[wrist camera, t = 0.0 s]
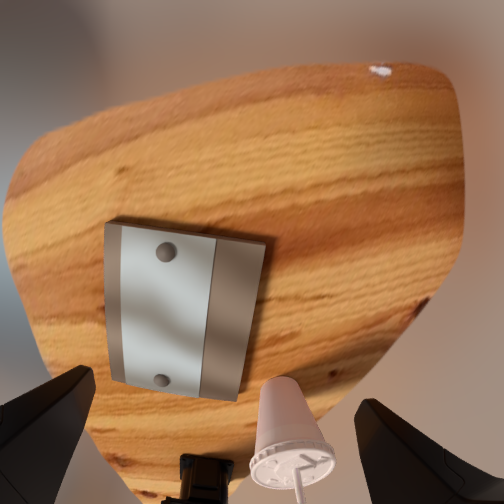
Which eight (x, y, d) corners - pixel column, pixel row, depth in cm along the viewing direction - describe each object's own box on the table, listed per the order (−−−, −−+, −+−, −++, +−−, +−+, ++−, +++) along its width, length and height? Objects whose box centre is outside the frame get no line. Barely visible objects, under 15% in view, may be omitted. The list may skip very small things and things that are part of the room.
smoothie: (318, 364, 26) (364, 492, 12) (306, 411, 27) (335, 527, 14) (248, 364, 25) (256, 505, 12) (244, 412, 27) (249, 535, 14)
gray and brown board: (236, 394, 26) (236, 403, 25) (115, 373, 25) (110, 381, 24) (264, 242, 22) (266, 246, 21) (110, 220, 21) (103, 223, 20)
